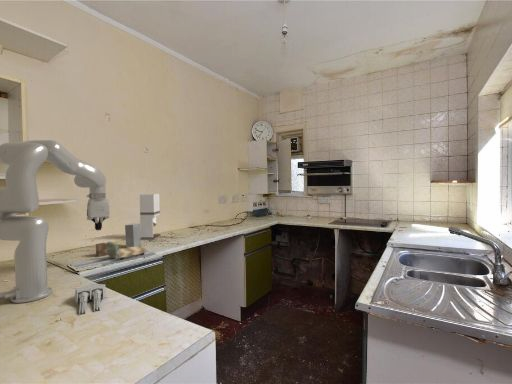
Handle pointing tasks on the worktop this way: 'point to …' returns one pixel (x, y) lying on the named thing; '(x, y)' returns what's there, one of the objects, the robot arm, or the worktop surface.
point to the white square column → (149, 215)
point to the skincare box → (133, 235)
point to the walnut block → (101, 249)
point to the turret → (90, 296)
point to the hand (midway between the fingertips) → (98, 229)
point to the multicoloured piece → (123, 251)
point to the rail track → (109, 260)
